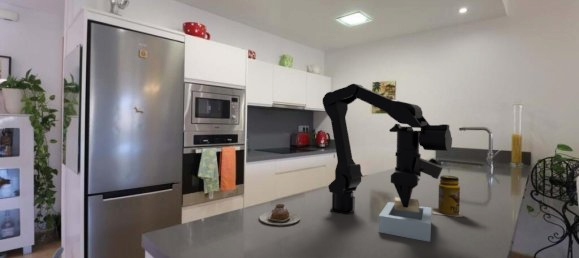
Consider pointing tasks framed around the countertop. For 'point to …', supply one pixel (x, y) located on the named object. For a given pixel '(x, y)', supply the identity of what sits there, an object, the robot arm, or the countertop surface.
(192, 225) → the countertop surface
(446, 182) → the condiment
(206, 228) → the countertop surface
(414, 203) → the block
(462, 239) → the countertop surface
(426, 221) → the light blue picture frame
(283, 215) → the pastry
